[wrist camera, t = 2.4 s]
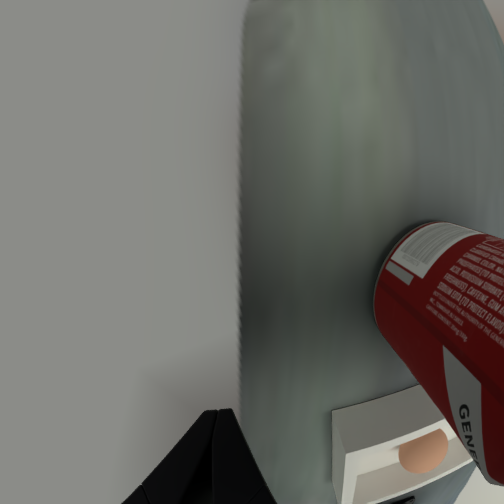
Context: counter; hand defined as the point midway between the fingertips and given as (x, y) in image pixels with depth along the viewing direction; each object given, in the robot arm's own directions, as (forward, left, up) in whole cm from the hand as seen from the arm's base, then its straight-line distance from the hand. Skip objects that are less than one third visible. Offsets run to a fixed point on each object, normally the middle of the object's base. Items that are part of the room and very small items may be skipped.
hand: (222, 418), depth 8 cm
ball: (-11, -10, -4) cm, 16 cm away
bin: (-11, -10, -6) cm, 17 cm away
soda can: (0, -10, -6) cm, 12 cm away
